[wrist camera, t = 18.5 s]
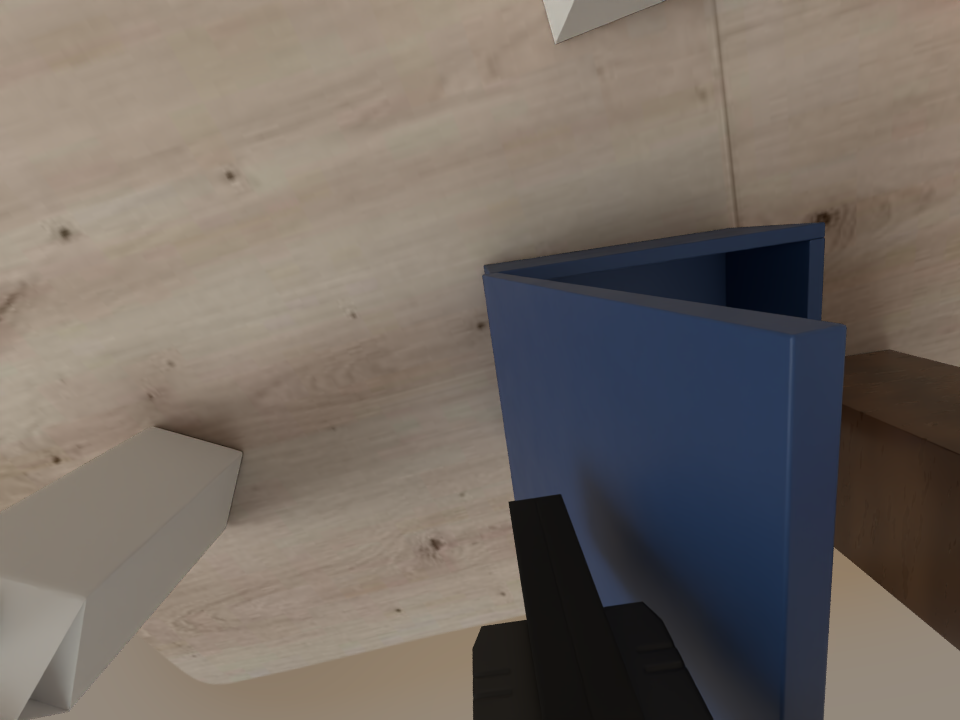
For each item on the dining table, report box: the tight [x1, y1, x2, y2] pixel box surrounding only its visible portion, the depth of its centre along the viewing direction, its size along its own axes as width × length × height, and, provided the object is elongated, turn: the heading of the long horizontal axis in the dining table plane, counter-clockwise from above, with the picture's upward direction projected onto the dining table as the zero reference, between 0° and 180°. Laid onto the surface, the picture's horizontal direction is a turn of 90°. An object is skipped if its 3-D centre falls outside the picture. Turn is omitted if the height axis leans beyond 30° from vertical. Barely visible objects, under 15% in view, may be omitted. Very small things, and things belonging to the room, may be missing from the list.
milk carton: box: [0, 427, 242, 720], centre depth 26 cm, size 7×7×19 cm
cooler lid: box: [482, 273, 847, 720], centre depth 16 cm, size 18×14×1 cm
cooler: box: [484, 222, 825, 321], centre depth 29 cm, size 18×14×9 cm
